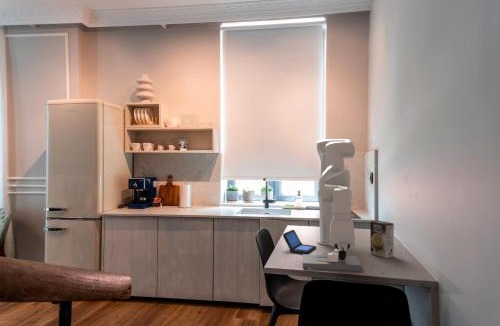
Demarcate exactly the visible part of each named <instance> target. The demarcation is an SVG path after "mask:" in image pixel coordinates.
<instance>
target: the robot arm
mask: <svg viewBox="0 0 500 326" xmlns="http://www.w3.org/2000/svg"><path fill="white" fill-rule="evenodd" d="M316 150H317V151H316V152H317V154H318V156H319V159H320V177H319V180H318V190H317V198H318V206H319V207H318V208H319V238H318V239H316V242H317V243H318V244H319V245H322V246H329V247H333V248H335V249H338V250H339V258H340V260H341V261H342V260H343V261H345V258H346V256H347V252H348V250H349V249H350V248H353V247H355V246H356V242H355V241H356V237H355V226H354V225H355V224H354V221H353V218H355V213H354V214H353V213H352V197H353V193H352V189H351V174H350V170H348V168H346V166H345V160H344V159H353V158H354V157H355V155H356V148H355V145H354V142H353V141H352V140H350V139H348V138H347V139H345V138H342V139H341V138H338V139H336V138H335V139H334V138H329V139H328V138H327V139H326V138H325V139H321V140H318V141H317V143H316ZM341 245H343V247H342V246H341ZM342 249H343V250H342Z"/></svg>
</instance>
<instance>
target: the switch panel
mask: <svg viewBox="0 0 500 326" xmlns="http://www.w3.org/2000/svg"><path fill="white" fill-rule="evenodd" d="M303 268H311V269H310V270H316V269H326V270H325V271H340V270H342V272H343V271H345V272H362V264H361V262H360V260H359V258H358V256H357V255H346V258H345V261H343V260H342V261H341V260H340V258H338V262H328V254H309V253H308V254H302V269H303Z"/></svg>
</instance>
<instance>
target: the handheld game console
mask: <svg viewBox="0 0 500 326" xmlns="http://www.w3.org/2000/svg"><path fill="white" fill-rule="evenodd" d="M282 237H283V239H284V241H285V243H286V244H287V246H288V249H289V253H291V254H300V255H303V254H308V255H309V254H310V253H311V252H313V251H315V250H316V249H317V246H316V245H312V244H311V245H309V244H303V242H302V241H301V239H299V236H298V234H297V233H296V230H294V229H291V230H289V231H286V232H284V233H283V234H282Z"/></svg>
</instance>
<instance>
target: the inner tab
mask: <svg viewBox="0 0 500 326" xmlns="http://www.w3.org/2000/svg"><path fill="white" fill-rule="evenodd" d="M341 249H342V250H343V248H341ZM333 252H334V253H337V254H338V258H339V250H338V249H337V248H334V249H333Z"/></svg>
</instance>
